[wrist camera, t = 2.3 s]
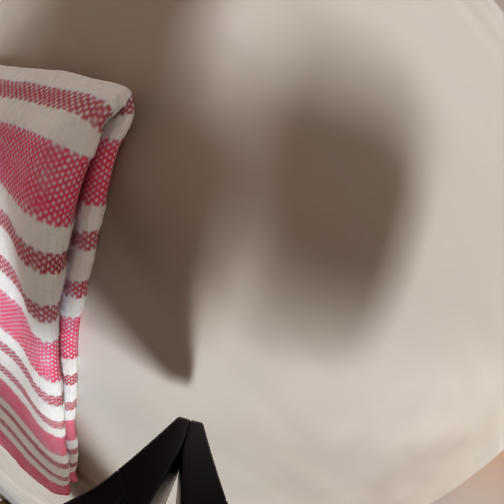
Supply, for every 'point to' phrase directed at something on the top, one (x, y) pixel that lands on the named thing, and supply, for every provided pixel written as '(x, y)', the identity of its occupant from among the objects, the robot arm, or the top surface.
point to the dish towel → (50, 252)
